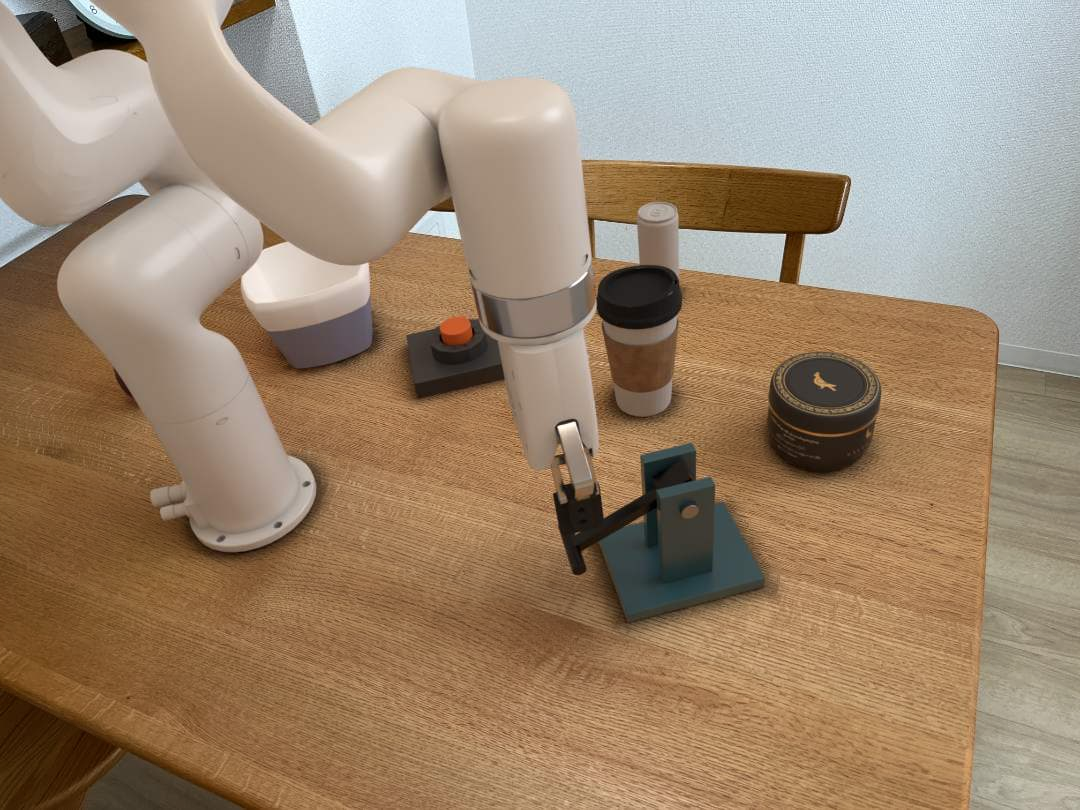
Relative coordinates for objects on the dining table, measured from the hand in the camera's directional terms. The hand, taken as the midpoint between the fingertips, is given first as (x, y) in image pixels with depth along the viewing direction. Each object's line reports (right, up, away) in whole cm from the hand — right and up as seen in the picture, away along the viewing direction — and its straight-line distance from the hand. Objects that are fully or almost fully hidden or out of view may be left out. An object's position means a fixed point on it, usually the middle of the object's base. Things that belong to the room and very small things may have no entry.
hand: (565, 481), depth 61 cm
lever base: (+10, -8, +10) cm, 16 cm away
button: (-12, +14, +33) cm, 38 cm away
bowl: (-29, +14, +43) cm, 53 cm away
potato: (-49, +7, +38) cm, 62 cm away
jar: (+25, +2, +19) cm, 32 cm away
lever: (+6, -4, +5) cm, 8 cm away
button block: (-11, +11, +36) cm, 39 cm away
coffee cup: (+9, +6, +27) cm, 29 cm away
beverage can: (+13, +19, +41) cm, 47 cm away
